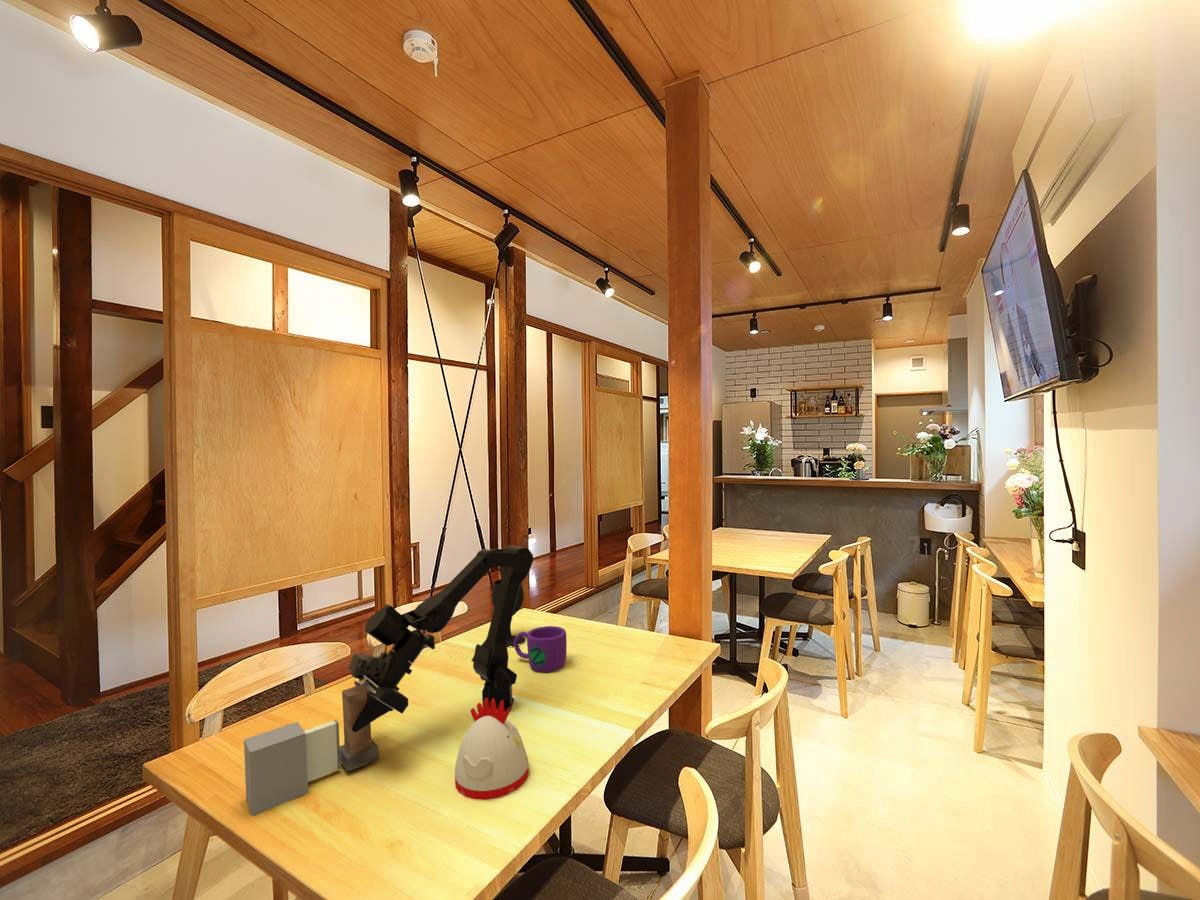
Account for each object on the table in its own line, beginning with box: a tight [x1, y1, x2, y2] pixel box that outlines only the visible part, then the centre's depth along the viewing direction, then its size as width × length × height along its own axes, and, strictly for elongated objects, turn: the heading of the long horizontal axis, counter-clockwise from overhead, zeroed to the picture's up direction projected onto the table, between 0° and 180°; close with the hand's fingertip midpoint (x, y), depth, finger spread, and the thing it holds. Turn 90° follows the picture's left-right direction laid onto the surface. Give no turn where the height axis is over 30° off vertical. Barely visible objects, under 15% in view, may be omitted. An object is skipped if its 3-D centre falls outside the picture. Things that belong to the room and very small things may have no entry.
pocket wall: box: [243, 721, 309, 817], centre depth 99 cm, size 9×6×11 cm
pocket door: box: [304, 719, 341, 783], centre depth 104 cm, size 8×2×9 cm, turn 132°
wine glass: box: [491, 578, 526, 648], centre depth 176 cm, size 10×10×20 cm
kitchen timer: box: [454, 697, 530, 801], centre depth 103 cm, size 14×14×15 cm
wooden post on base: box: [340, 684, 380, 772], centre depth 109 cm, size 6×6×14 cm
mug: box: [513, 625, 568, 673], centre depth 156 cm, size 17×11×10 cm, turn 63°
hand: (349, 727), depth 108 cm, fingers closed on wooden post on base, 4 cm apart
